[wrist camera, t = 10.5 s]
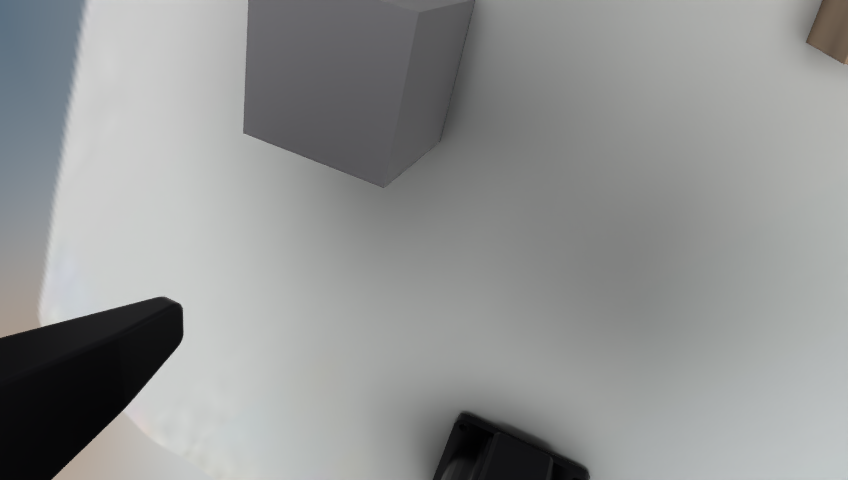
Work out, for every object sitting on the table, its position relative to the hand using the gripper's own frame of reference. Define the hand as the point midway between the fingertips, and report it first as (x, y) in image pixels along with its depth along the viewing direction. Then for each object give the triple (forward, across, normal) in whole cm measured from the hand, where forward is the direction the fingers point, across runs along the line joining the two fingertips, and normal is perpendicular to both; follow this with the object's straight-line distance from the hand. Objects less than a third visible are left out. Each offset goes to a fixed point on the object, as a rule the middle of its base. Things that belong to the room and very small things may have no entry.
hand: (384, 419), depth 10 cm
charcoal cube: (+12, +6, -3) cm, 14 cm away
